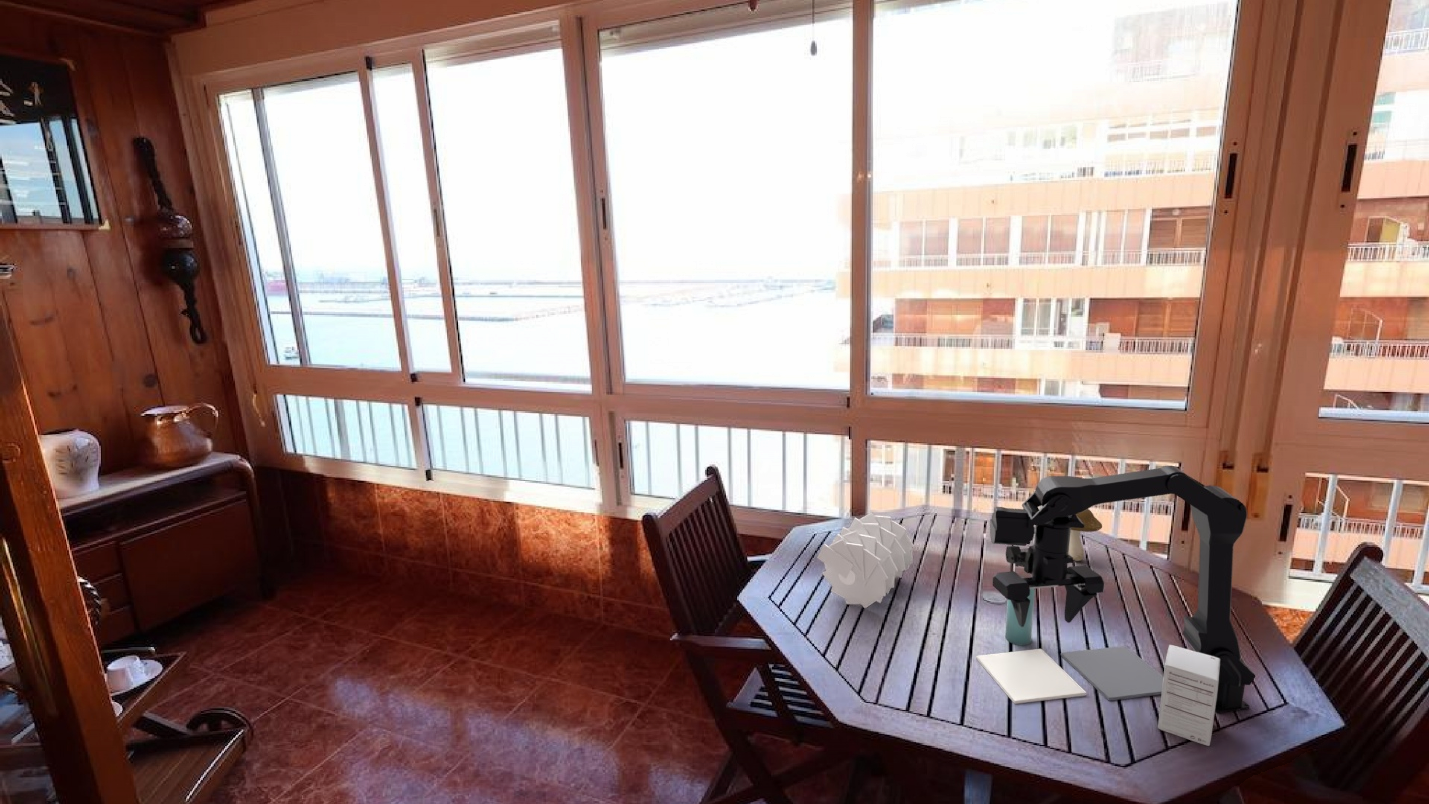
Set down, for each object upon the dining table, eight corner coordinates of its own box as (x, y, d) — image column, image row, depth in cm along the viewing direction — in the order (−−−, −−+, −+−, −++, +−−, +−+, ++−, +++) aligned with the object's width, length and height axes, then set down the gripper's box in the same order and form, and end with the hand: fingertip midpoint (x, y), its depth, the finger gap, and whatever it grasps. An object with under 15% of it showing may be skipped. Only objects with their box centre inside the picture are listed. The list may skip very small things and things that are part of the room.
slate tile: (1179, 692, 121) (1179, 689, 121) (1108, 700, 120) (1109, 697, 120) (1124, 648, 135) (1125, 645, 135) (1060, 655, 134) (1061, 652, 133)
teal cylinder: (1036, 644, 138) (1040, 587, 135) (1013, 646, 137) (1017, 589, 134) (1022, 631, 142) (1026, 576, 140) (1000, 633, 142) (1003, 578, 139)
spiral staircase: (899, 587, 171) (864, 630, 150) (842, 547, 178) (801, 582, 158) (932, 533, 164) (900, 570, 143) (872, 493, 171) (833, 522, 150)
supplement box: (1161, 705, 118) (1169, 642, 115) (1212, 722, 113) (1222, 657, 111) (1156, 729, 113) (1163, 663, 110) (1209, 748, 108) (1219, 680, 105)
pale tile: (1086, 695, 122) (1086, 692, 121) (1014, 703, 120) (1014, 700, 120) (1041, 651, 135) (1041, 648, 135) (976, 658, 134) (976, 655, 134)
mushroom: (1053, 548, 180) (1057, 496, 177) (1101, 557, 174) (1106, 504, 170) (1046, 561, 173) (1050, 507, 170) (1096, 571, 166) (1101, 516, 163)
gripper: (1071, 525, 129) (1064, 597, 132) (980, 532, 127) (975, 605, 130) (1110, 550, 118) (1101, 628, 121) (1012, 558, 116) (1005, 637, 119)
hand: (1044, 623), depth 123 cm, fingers open, 9 cm apart
